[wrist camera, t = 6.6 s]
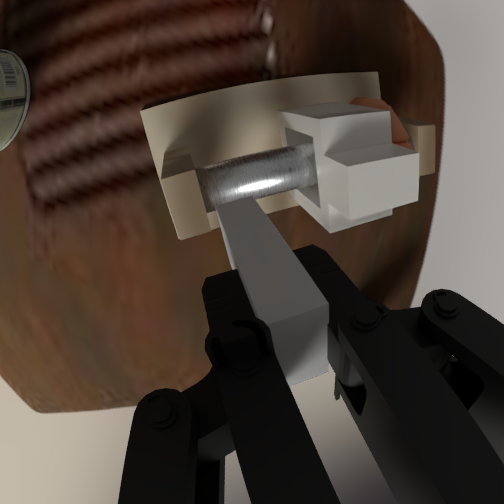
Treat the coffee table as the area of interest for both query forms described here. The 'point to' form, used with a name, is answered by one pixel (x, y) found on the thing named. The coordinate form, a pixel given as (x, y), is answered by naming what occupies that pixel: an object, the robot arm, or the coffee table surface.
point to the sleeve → (351, 163)
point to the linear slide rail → (247, 135)
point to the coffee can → (12, 96)
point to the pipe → (259, 174)
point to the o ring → (396, 126)
